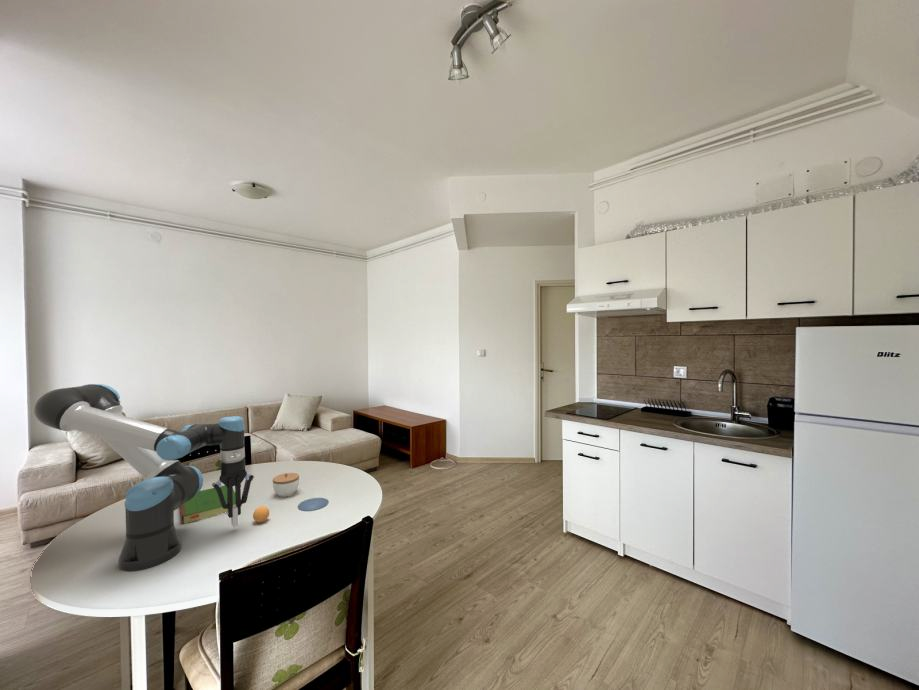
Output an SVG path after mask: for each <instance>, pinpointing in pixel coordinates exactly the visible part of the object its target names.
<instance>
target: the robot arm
mask: <svg viewBox="0 0 919 690" xmlns="http://www.w3.org/2000/svg"><path fill="white" fill-rule="evenodd" d="M120 399H121V396H120V394H119V392H118V391H116V389H114V388H113V387H112V386H109V385H107V384H102V383H101V384H100V383H97V384H96V383H89V384H83V385H80V386H73V387H62V388H56V389H52V390H49V391H48V392H45V394H43V395H41V396H40V397H39V398H38V400H37V401H36V402H35V404H34V410H33V411H34V414H35V415H34V416H35V418H36V419H37V420H38V421H39V422H40V423H42V424H43V425H45V426H47V427H49V428H53V429H56V430H59V431H63V432H68V433H69V432H73V431H78V432H82V433H85V434H88V435H92V436H96V437H100V438H101V439H102V440H103V441H104V442H105V443H106V444H107V445H108V446H109V447H111V448H112V450H114V451H115V452H116V453H117V454H118V455H119V456H120V457H121V458H122V459H123V460H124V461H126V463H127V464H129V466H131V467H132V468H133V470H135V471H136V472H137V473H138V474H139V475H140V476H141V477H143V479H145V480H142V481H139V482H137V483H136V484H134V485H132V486H131V487H130V488H128V490H127V491H126V494H125V501H124V508H125V541H124V544H123V546H122V549H121V551H120V554H119V558H118V568H119V569H120V570H123V571H127V572H128V571H129V572H130V571H131V572H132V571H139V570H140V571H141V570H144V569H148V568H152V567H155V566H158V565H160V564H163V563H164V562H167V561H168V560H170V559H171V558H174V557H175V556H176V555H177V554H178V553H180V551H181V548H182V541H181V538H180V535H179V534H178V532H177V530H176V528H175V521H174V520H175V518H174V515H175V513H174V512H175V511H176V510H177V509H180V506H182V505H183V504H184V503H186V502H187V501H190V500H191V499H192V498H193V497H194V496H195V495H196V494H198V492H199V491H202V488H203V483H204V475H203V473H202V472H201V470H200V469H199V468H197V467H195V466H193V465H184V464H183V463H182V462H181V461H180V460H178V459H181V458H182V457H185V456H186V455H188V454H190V453H192V452H194V451H196V450H198V449H201V448H203V447H206V446H218V445H219V449H220V450H219V452H220V461H221V462H220V476H219V479H218V480H217V481H216V482H213V483H211V485H212V488H215V489H216V491H217V494H218V497H219V500H220V503H221V506H222V507H223V509H228V513H227V516H228V518H229V519H230V521H231V526H232V527H233V528H235V527H238V526H239V516H240V515H241V514H242V505H243V504H246V503H247V501H248V498H249V497H248V496H249V491H250V489H251V488H250V487H251V484H252V481H253V479H254V477H255V475H253V474H252V473H248V471H247V470H246V459H245V457H246V452H245V450H246V449H245V429H246V428H245V424H244V423H245V422H244V418H243V417H242V416H238V415H233V416H225V417H222V418H220V419H219V422H218V423H194V424H187V425H185V426H183V428H182V429H181V431H179V430H176V429H171V428H169V427H164V426H161V425H156V424H155V423H151V422H146V421H143V420H140V419H136V418H133V417H128V416H125V415H124V414H123V413H122V412H123V406H122V405H121V400H120ZM243 481H245V482H244V485H243V490H242V491H241V487H242V482H243ZM222 484H223V486H226V487H227V504H226V502H225V499H224V496H223V493H222V490H221V488H220V487H221V486H222ZM232 490H234V492H235V502H236V505H235V506H233V491H232ZM241 493H242V494H241Z"/></svg>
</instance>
